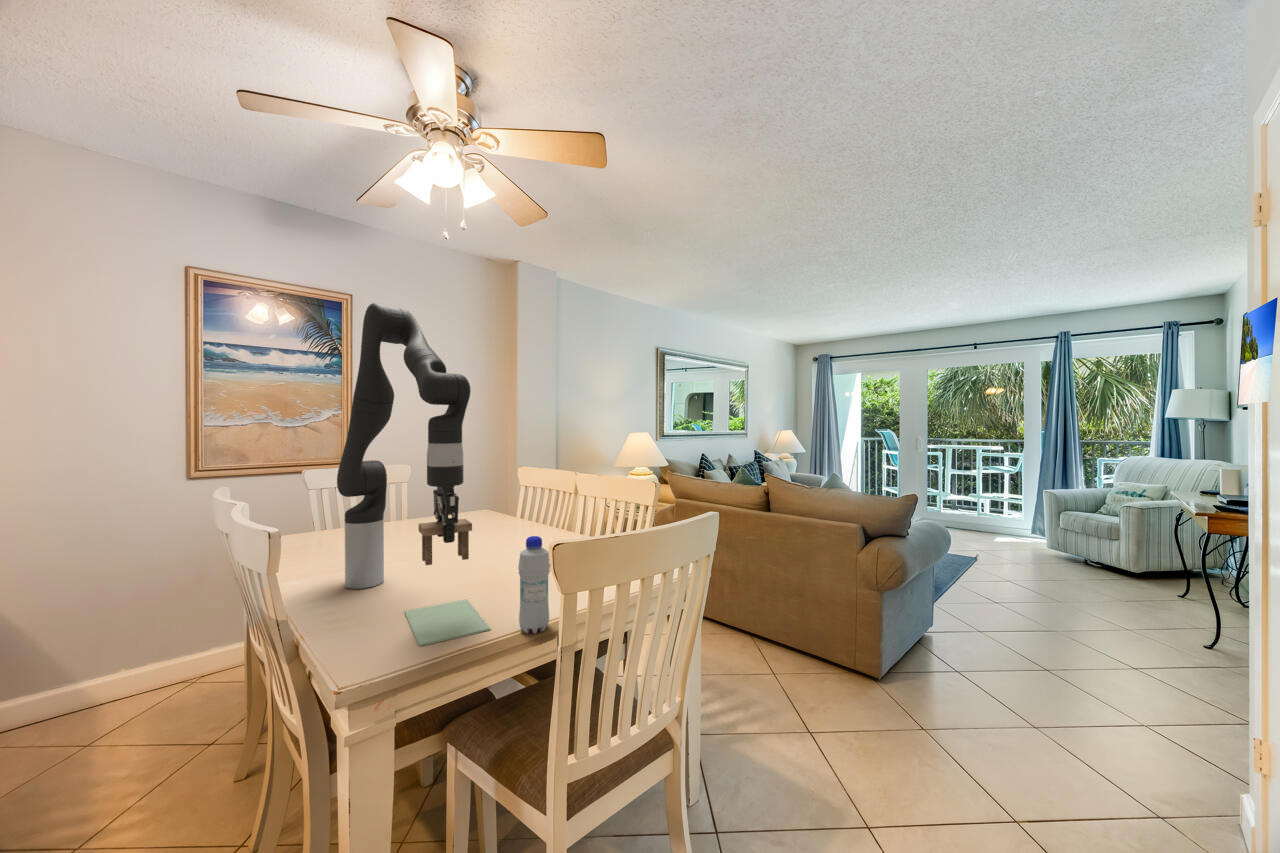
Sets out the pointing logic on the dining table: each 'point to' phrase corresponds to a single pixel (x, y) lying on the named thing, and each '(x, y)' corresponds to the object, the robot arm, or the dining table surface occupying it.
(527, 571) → the bottle
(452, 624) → the mat
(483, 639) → the dining table surface
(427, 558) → the stool
